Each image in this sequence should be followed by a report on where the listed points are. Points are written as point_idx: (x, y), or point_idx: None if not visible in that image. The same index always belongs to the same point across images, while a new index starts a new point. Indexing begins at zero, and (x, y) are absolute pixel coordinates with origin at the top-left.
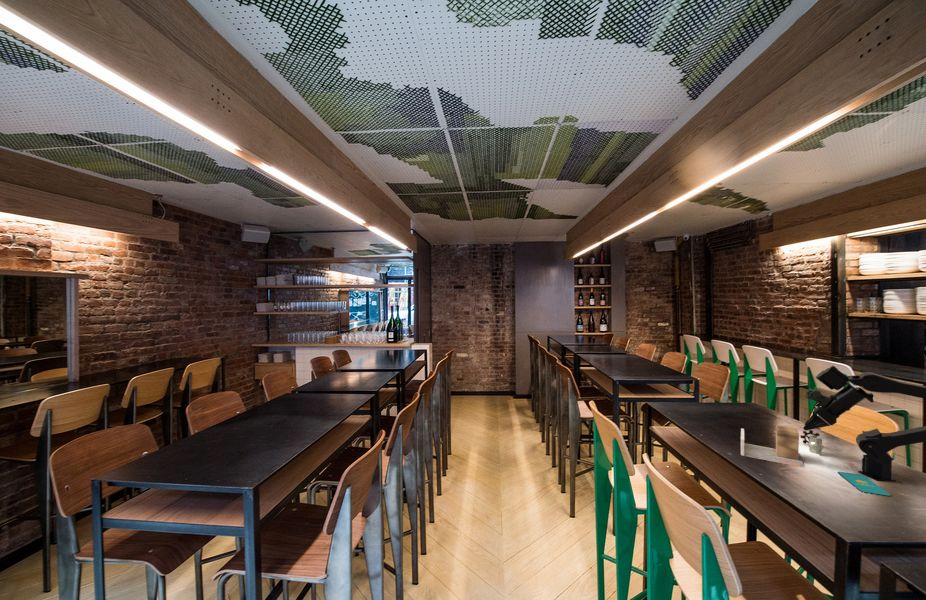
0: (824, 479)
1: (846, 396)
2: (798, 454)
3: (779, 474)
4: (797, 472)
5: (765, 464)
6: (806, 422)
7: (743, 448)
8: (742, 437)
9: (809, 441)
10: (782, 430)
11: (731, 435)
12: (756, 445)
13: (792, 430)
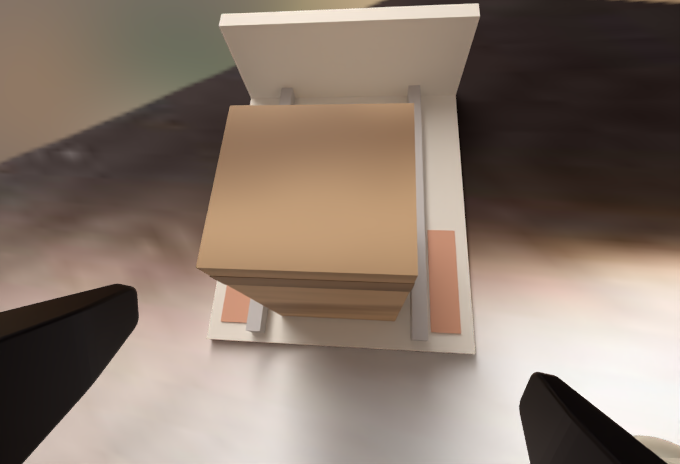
0: (100, 412)
1: None
2: (412, 334)
3: (93, 218)
4: (152, 295)
5: (201, 175)
6: (558, 405)
7: (239, 68)
8: (261, 17)
9: (672, 451)
10: (237, 139)
11: (594, 53)
12: (420, 134)
13: (292, 221)
